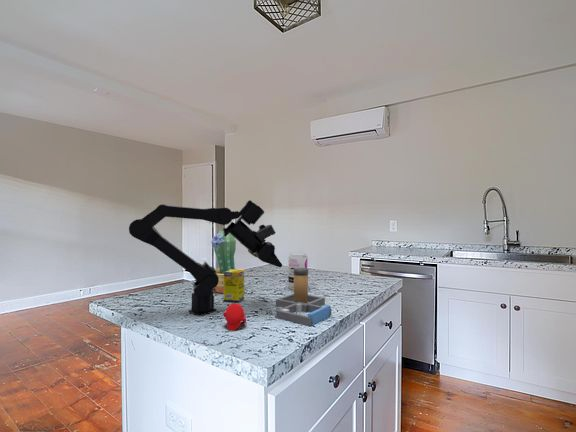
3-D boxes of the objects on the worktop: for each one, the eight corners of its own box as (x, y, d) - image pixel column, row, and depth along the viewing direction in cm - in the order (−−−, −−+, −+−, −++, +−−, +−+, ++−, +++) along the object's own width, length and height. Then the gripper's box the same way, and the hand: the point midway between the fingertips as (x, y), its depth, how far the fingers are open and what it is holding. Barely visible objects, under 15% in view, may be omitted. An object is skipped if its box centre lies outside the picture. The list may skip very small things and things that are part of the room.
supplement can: (307, 286, 139) (307, 252, 139) (306, 291, 131) (307, 255, 131) (289, 286, 140) (289, 252, 140) (287, 290, 132) (287, 254, 132)
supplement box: (238, 302, 113) (239, 272, 113) (223, 301, 114) (223, 271, 114) (244, 298, 119) (244, 269, 119) (229, 297, 120) (229, 269, 120)
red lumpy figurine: (224, 310, 93) (218, 304, 88) (243, 303, 94) (238, 297, 89) (230, 336, 89) (224, 332, 84) (250, 329, 90) (245, 324, 84)
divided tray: (310, 326, 89) (310, 315, 89) (256, 312, 101) (256, 302, 101) (345, 307, 107) (345, 298, 107) (296, 298, 119) (296, 289, 119)
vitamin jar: (302, 307, 107) (303, 270, 107) (290, 305, 110) (290, 269, 110) (310, 304, 111) (311, 268, 111) (298, 302, 114) (299, 267, 114)
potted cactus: (204, 287, 135) (204, 230, 135) (238, 284, 142) (239, 229, 142) (211, 296, 121) (211, 231, 121) (249, 292, 128) (250, 231, 128)
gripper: (266, 217, 99) (301, 249, 102) (254, 217, 117) (284, 244, 120) (243, 244, 97) (279, 276, 100) (234, 239, 115) (265, 266, 118)
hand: (277, 264), depth 110 cm, fingers open, 9 cm apart
